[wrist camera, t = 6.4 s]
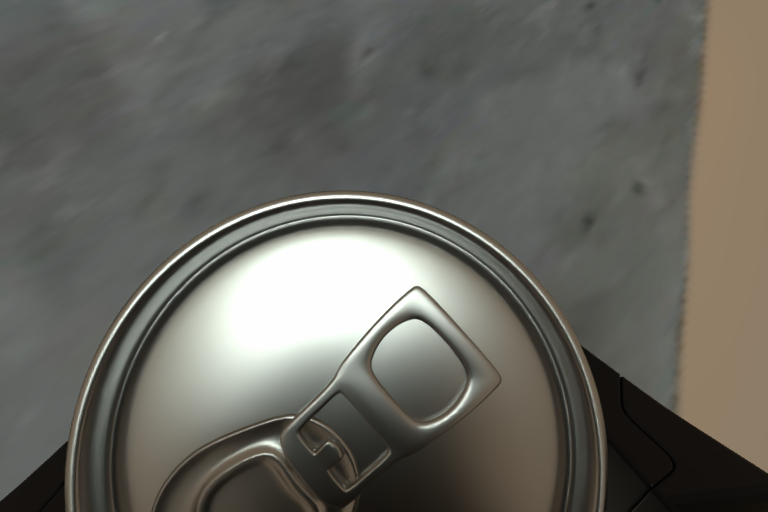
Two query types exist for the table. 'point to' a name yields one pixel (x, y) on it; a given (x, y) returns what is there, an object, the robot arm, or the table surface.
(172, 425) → the can
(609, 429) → the robot arm
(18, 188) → the table surface
